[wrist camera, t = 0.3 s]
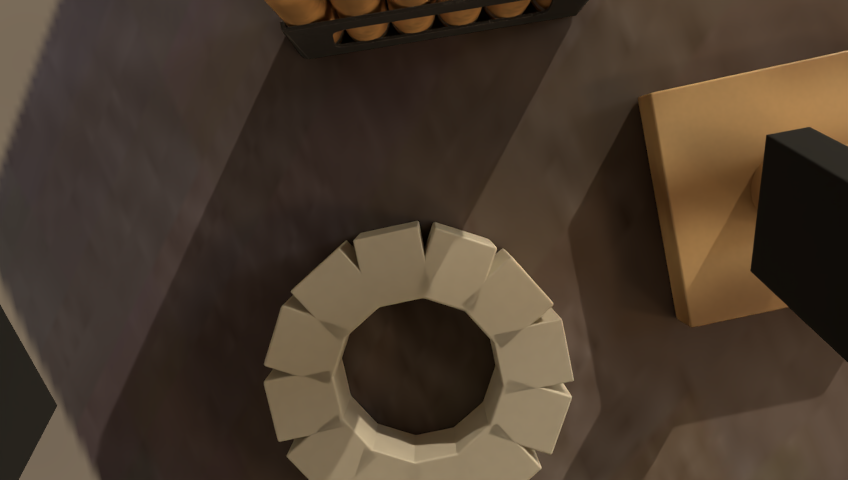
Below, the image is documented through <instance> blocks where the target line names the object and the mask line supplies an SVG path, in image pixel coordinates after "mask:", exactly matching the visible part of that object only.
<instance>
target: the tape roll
mask: <svg viewBox="0 0 848 480" xmlns="http://www.w3.org/2000/svg"><path fill="white" fill-rule="evenodd" d="M353 243H354V247H353V246H352V245H351V244H350V243H349V242H348V241H347V240H346V241H345V242H344V243H342V244H341V245H340V246H339V247H338V248H337V249H336V250H335V251H334V252H333V253H331V254H330V255H329V256H328V257H327V258H326V259H325V260H324V261H323V262H322V263H320V264H319V265H318V266H317V267H316V268H315V269H314V270H313V271H312V272H311V273H309V274H308V275H307V276H306V277H305V278H304V279H303V280H302V281H301V282H300V283H299V284H297V285H296V286H295V287H294V288H293V289H292V290H291V293H292V294H293V296H292V297H290V298H289V299H288V300H287V301H286V302H285V303H284V304H283V305H282V306H281V309H280V312H279V315H278V319H277V322H276V325H275V329H274V332H273V335H272V338H271V342H270V345H269V348H268V352H267V355H266V358H265V361H264V365H265V366H266V367H269V368H273V370H272V371H271V372H270V374H269V375H268V376H267V378H266V379H265V381H264V383H263V384H264V388H265V392H266V396H267V400H268V404H269V408H270V412H271V416H272V420H273V424H274V428H275V432H276V436H277V440H278V441H279V442H281V441H286V440H291V439H294V441H293V443H292V445H291V447H290V449H289V451H288V453H287V455H286V456H287V458H288V459H289V460H290V461H291V462H292V463H293V464H294V465H295V466H296V467H297V468H298V469H299V470H300V471H301V472H302V473H303V474H304V475H305V476H306V477H307V478H308V480H529V479H530V478H531V477H533V476H534V475H535V474H536V473H537V472H538V471H540V470H541V468H542V467H541V464H540V462H539V459H538V457H537V454H536V452H535V450H536V451H540V452H543V453H546V454H549V455H551V454H552V452H553V450H554V447H555V444H556V441H557V438H558V436H559V433H560V430H561V427H562V424H563V422H564V419H565V416H566V413H567V410H568V408H569V405H570V402H571V399H572V396H571V395H570V393H569V391H568V390H567V388H566V387H565V385H564V384H563V383H567V382H572V381H574V378H573V373H572V368H571V363H570V358H569V352H568V347H567V342H566V337H565V332H564V327H563V322H562V319H561V318H560V317H559V316H558V315H557V314H556V312H555V311H554V310H553V309H552V308H551V307H552V306H553V305H554V304H553V302H552V301H551V300H550V298H549V297H548V296H547V295H546V294H545V293H544V292H543V291H542V290H541V288H540V287H539V286H538V285H537V284H536V283H535V282H534V281H533V280H532V278H531V277H530V276H529V275H528V274H527V273H526V272H525V271H524V270H523V268H522V267H521V266H520V265H519V264H518V263H517V262H516V261H515V260H514V258H513V257H512V256H511V255H510V254H509V253H508V252H507V251H506V250H505V249H501V250H500V251H499V252H498V253H497V254H496V251H497V247H496V246H495V245H494V244H493V243H492V242H491V241H490V240H489V239H487V238H484V237H481V236H478V235H475V234H471V233H468V232H465V231H462V230H459V229H456V228H453V227H450V226H447V225H443V224H440V223H437V222H433V224H432V227H431V230H430V233H429V236H428V239H427V242H426V245H425V247H424V243H423V238H422V234H421V229H420V224H419V221H414V222H409V223H404V224H400V225H395V226H390V227H386V228H381V229H376V230H372V231H367V232H362V233H360V234H359V235H358V236H357V237H356V238H355V239H354V240H353ZM421 298H424V299H428V300H431V301H434V302H437V303H440V304H443V305H447V306H450V307H453V308H456V309H459V310H462V311H465V312H466V313H467V314H468V315H469V317H470V318H471V319H472V320H473V321H474V322H475V323H476V324H477V325H478V326H479V328H480V329H481V330H482V331H483V332H484V333H485V334H486V335H487V336H488V337H489V338H490V342H491V347H492V351H493V356H494V361H495V368H494V371H493V374H492V377H491V380H490V383H489V386H488V389H487V392H486V395H485V397H484V400H483V402H482V403H481V404H480V405H479V406H478V407H477V408H475V409H474V410H473V411H472V412H471V413H470V414H469V415H467V416H466V417H465V418H464V419H463V420H462V421H460V422H459V423H458V424H457V425H456V426H455V427H453V428H448V429H443V430H439V431H434V432H429V433H424V434H419V435H413V434H410V433H407V432H404V431H400V430H397V429H394V428H391V427H387V426H384V425H381V424H378V423H377V422H376V421H375V420H374V419H373V418H372V417H371V416H370V415H369V414H368V413H367V412H366V411H365V410H364V409H363V408H362V407H361V406H360V405H359V403H358V402H357V401H356V400H355V399H354V398H353V397H352V396H351V394H350V389H349V385H348V381H347V377H346V372H345V368H344V364H343V360H342V357H343V354H344V350H345V347H346V344H347V341H348V338H349V335H350V333H351V332H352V331H353V330H354V329H356V328H357V327H358V326H359V325H360V324H361V323H362V322H363V321H365V320H366V319H367V318H368V317H369V316H370V315H371V314H372V313H373V312H375V311H376V310H377V309H378V308H379V307H383V306H388V305H392V304H397V303H402V302H407V301H411V300H416V299H421Z"/></svg>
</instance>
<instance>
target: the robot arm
mask: <svg viewBox="0 0 848 480" xmlns="http://www.w3.org/2000/svg"><path fill="white" fill-rule="evenodd" d="M750 271H751V272H752V273H753V274H754V275H755V276H756V277H757V278H758V279H759V280H760V281H761V282H762V283H764V284H765V285H766V286H767V287H768V288H769V289H770V290H771V291H772V292H773V293H774V294H775V295H776V296H777V297H778V298H780V299H781V300H782V301H783V302H784V303H785V304H786V305H787V306H788V307H789V308H790V309H791V310H792V311H793V312H795V313H796V314H797V315H798V316H799V317H800V318H801V319H802V320H803V321H804V322H805V323H806V324H807V325H808V326H810V327H811V328H812V329H813V330H814V331H815V332H816V333H817V334H818V335H819V336H820V337H821V338H822V339H823V340H824V341H826V342H827V343H828V344H829V345H830V346H831V347H832V348H833V349H834V350H835V351H836V352H837V353H838V354H839V355H841V356H842V357H843V358H844V359H845V360H846V361H847V362H848V146H846V145H844V144H842V143H840V142H838V141H836V140H834V139H832V138H830V137H829V136H827V135H825V134H823V133H821V132H819V131H817V130H815V129H813V128H811V127H806V128H800V129H795V130H790V131H784V132H779V133H774V134H768V135H766V141H765V150H764V158H763V167H762V176H761V184H760V193H759V201H758V210H757V218H756V227H755V235H754V244H753V252H752V261H751V269H750ZM56 407H57V404H56V403H55V401H54V399H53V397H52V396H51V394H50V392H49V390H48V389H47V387H46V385H45V383H44V381H43V380H42V378H41V376H40V374H39V373H38V371H37V369H36V367H35V366H34V364H33V362H32V360H31V358H30V357H29V355H28V353H27V351H26V350H25V348H24V346H23V344H22V343H21V341H20V339H19V337H18V335H17V334H16V332H15V330H14V329H13V327H12V325H11V323H10V322H9V320H8V318H7V316H6V314H5V312H4V311H3V309H2V307H1V305H0V480H19V478H20V476H21V474H22V472H23V470H24V468H25V466H26V464H27V462H28V461H29V459H30V457H31V455H32V453H33V451H34V449H35V447H36V445H37V443H38V441H39V439H40V438H41V435H42V434H43V432H44V430H45V428H46V426H47V424H48V422H49V420H50V418H51V416H52V415H53V413H54V411H55V409H56Z"/></svg>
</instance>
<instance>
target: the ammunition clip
mask: <svg viewBox="0 0 848 480" xmlns="http://www.w3.org/2000/svg"><path fill="white" fill-rule="evenodd" d="M265 1H266V3H267V4H268V5H269V6H270V7H271V8H272V9H273V10H274V11H275V12H276V13H277V15H278V16H279V17H280V18H281V19H282V20H283V22H280V24H281V30H282V32H283V33H284V34H285V35H286V36H287V38H288V39H289V40H290V42H291V43H292V44H293V45H294V47H295V48H296V49H297V51H298V52H299V53H300V55H301V56H302V57H303V58H305V59H313V58H319V57H326V56H332V55H338V54H344V53H350V52H356V51H362V50H368V49H374V48H380V47H386V46H393V45H399V44H405V43H411V42H417V41H423V40H429V39H435V38H441V37H447V36H453V35H460V34H466V33H472V32H478V31H484V30H490V29H496V28H502V27H508V26H514V25H520V24H527V23H533V22H539V21H545V20H551V19H557V18H563V17H569V16H575V15H577V13H578V12H579V11H580V10H581V9H582V7H583V6H584V5H585V4H586V3H587V2H588V0H265ZM285 23H286V24H287V25H288V26H289V27H287V25H286V24H285Z"/></svg>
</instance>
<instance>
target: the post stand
mask: <svg viewBox="0 0 848 480" xmlns="http://www.w3.org/2000/svg"><path fill="white" fill-rule="evenodd" d="M638 103H639V108H640V114H641V120H642V125H643V131H644V137H645V142H646V148H647V154H648V159H649V165H650V171H651V176H652V182H653V188H654V193H655V199H656V205H657V210H658V216H659V222H660V227H661V233H662V239H663V244H664V250H665V256H666V261H667V267H668V273H669V278H670V284H671V290H672V295H673V301H674V307H675V312H676V318H677V319H678V320H679V321H681V322H683V323H685V324H686V325H688V326H690V327H697V326H702V325H707V324H711V323H716V322H721V321H726V320H731V319H735V318H740V317H745V316H750V315H754V314H759V313H764V312H769V311H774V310H778V309H783V308H788V306H787V305H786V304H785V303H784V302H783V301H782V300H781V299H780V298H778V297H777V296H776V295H775V294H774V293H773V292H772V291H771V290H770V289H769V288H768V287H767V286H766V285H765V284H764V283H762V282H761V281H760V280H759V279H758V278H757V277H756V276H755V275H754V274H753V273H752V272H751V271H750V269H751V261H752V252H753V244H754V235H755V227H756V218H757V210H758V201H759V193H760V184H761V176H762V167H763V158H764V150H765V141H766V135H768V134H774V133H779V132H784V131H790V130H795V129H800V128H806V127H811V128H813V129H815V130H817V131H819V132H821V133H823V134H825V135H827V136H829V137H830V138H832V139H834V140H836V141H838V142H840V143H842V144H844V145H846V146H848V50H846V51H842V52H837V53H833V54H828V55H823V56H819V57H814V58H810V59H805V60H800V61H796V62H791V63H787V64H782V65H777V66H773V67H768V68H764V69H759V70H754V71H750V72H745V73H741V74H736V75H731V76H727V77H722V78H718V79H713V80H708V81H704V82H699V83H694V84H690V85H685V86H681V87H676V88H671V89H667V90H662V91H658V92H653V93H649V94H646V95H643V96H640V97H639V98H638Z"/></svg>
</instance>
